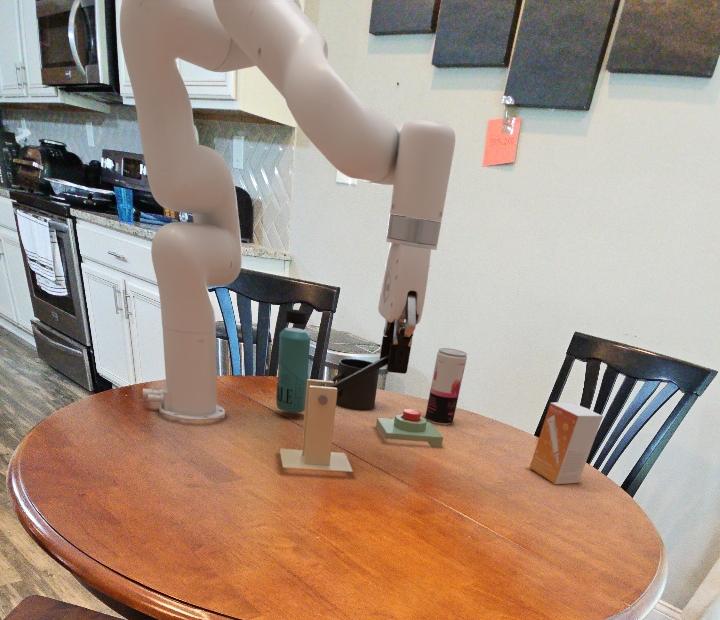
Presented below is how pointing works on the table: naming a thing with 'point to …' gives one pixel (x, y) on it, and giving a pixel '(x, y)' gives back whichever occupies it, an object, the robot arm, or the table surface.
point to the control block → (409, 430)
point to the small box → (565, 442)
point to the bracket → (317, 432)
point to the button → (411, 415)
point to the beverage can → (445, 386)
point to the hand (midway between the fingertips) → (392, 366)
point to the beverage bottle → (293, 364)
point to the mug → (356, 386)
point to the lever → (360, 373)
